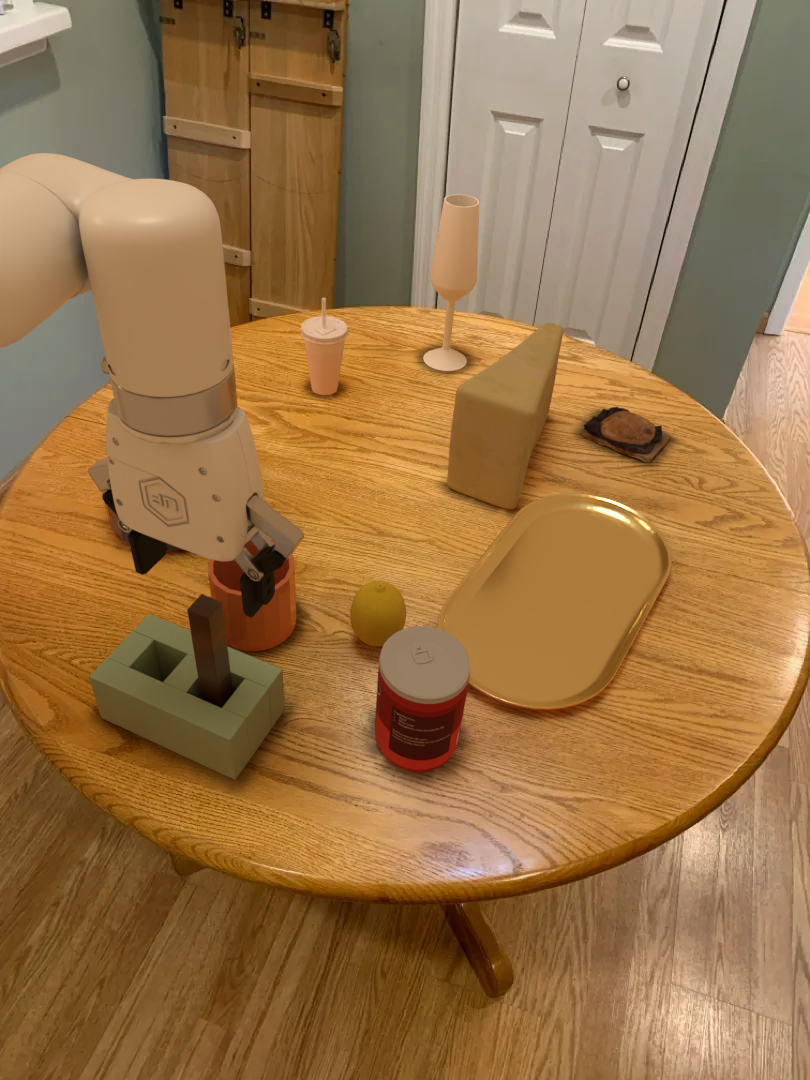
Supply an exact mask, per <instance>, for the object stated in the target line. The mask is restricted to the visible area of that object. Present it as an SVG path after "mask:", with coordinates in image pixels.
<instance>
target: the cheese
mask: <svg viewBox="0 0 810 1080" xmlns="http://www.w3.org/2000/svg"><path fill="white" fill-rule="evenodd" d="M563 336H564V327H563V326H562V325H560V324H557V323H553V322H545V324H542V325H541V326H539V327H538V328H536V329H535V330H534V331H533V332H531V334H530V335H528V336H527V337H526V338H525V339H524V340H523V341H521V342H520V343H519V344H518V345H516V346H515V347H514V348H513V349H511V350H510V351H509V352H508V353H506V354H504V356H502V357H501V358H499V359H498V360H497V361H495V362H494V363H492V364H491V365H489V366H487V367H486V368H484V369H482V370H481V371H479V372H478V373H476V374H475V375H473V376H472V377H470V378H469V379H467V380H466V381H464V382H463V383H461V384H460V385H459V386H458V387H457V389H456V391H455V397H454V403H453V404H454V405H453V412H452V418H451V419H452V420H451V427H450V438H449V449H448V450H449V451H448V465H447V478H446V484H447V486H448V487H449V488H450V489H451V490H454V491H456V492H458V493H461V494H463V495H466V496H468V497H470V498H474V499H476V500H479V501H482V502H485V503H488V504H490V505H492V506H496V507H499V508H502V509H506V510H515V509H516V508H517V507H518V504H519V501H520V498H521V494H522V491H523V487H524V483H525V478H526V475H527V470H528V466H529V463H530V459H531V455H532V452H533V450H534V448H535V447H536V445H537V443H538V441H539V440H540V439H539V438H540V436H541V435H542V431H543V429H544V427H545V424H546V421H547V418H548V415H549V411H550V408H551V403H552V398H553V393H554V388H555V382H556V376H557V369H558V362H559V357H560V351H561V345H562V341H563Z"/></svg>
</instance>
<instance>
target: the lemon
mask: <svg viewBox="0 0 810 1080" xmlns="http://www.w3.org/2000/svg"><path fill="white" fill-rule="evenodd" d="M349 617H350V618H349V620H350V625H351V628H352V630H353V633H354V634H355V635H356V637H357V638H358V640H360V641H361V642H363V643H365V644H366V645H368V646H372V647H383V645H384V644H385V642H386V641H387V640H388V638H390V637H391V636H392V635H393V634H394V633H396V632H398V631H400V630H402V629H405V625H406V620H407V607H406V603H405V599H404V596H403V594H402V593H401V591H400V590H399V589H398V588H397V587H396V586H395V585H394V584H392V583H390V582H387V581H385V580H374V581H370V582H367V583H366V584H364V585H363V586H361V587H360V588H359V589H358V590H357V592H356V593H355V595H354V597H353V599H352V602H351V605H350V611H349Z"/></svg>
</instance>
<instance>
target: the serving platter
mask: <svg viewBox="0 0 810 1080" xmlns="http://www.w3.org/2000/svg"><path fill="white" fill-rule="evenodd" d="M671 552H672V551H671V550H670V546H669V544H668V541H667V539H666V538H665V537H664V535H663V534H662V532H661V531H660V530H659V528H658V527H656V525H654V523H652V521H650V519H648V518H647V517H645V516H644V515H643V514H641V513H640V512H638V511H636V510H634V509H633V508H631V507H629V506H627V505H626V504H623V503H620V502H618V501H615V500H612V499H609V498H606V497H602V496H599V495H598V496H597V495H592V494H585V493H557V494H552V495H547V496H542V497H540V498H538V499H535V500H533V501H531V502H528V503H527V504H525V505H524V506H523V507H522V508H520V509H519V511H517V512H516V513H515V515H514V516H513V517H512V518H511V520H510V521H509V522H508V524H507V525H505V527H504V528H503V529H502V531H501V532H500V533H499V534H498V535H497V537H496V538H495V539H494V540H493V542H492V543H491V544H490V545H489V547H488V548H487V549H486V550H485V551H484V553H483V554H482V555H481V557H479V559H478V560H477V561H476V562H475V564H474V565H473V566H472V567H471V568H470V569H469V571H468V572H467V574H466V575H465V576H464V577H463V579H462V580H461V581H460V582H459V583H458V584H457V586H456V587H455V588H454V589H453V591H451V593H449V596H448V597H447V598H446V599H445V602H444V603H443V605H442V607H441V610H440V612H439V616H438V619H437V620H438V621H437V629H440V630H443V631H445V632H447V633H449V634H450V635H452V636H453V637H455V638H456V639H457V640H458V641H459V642H460V643H461V644H462V645H463V647H464V648H465V650H466V651H467V654H468V656H469V660H470V678H469V685H468V686H471V687H472V688H473V689H475V690H476V691H477V692H479V693H481V694H483V695H484V696H486V697H488V698H490V699H492V700H495V701H497V702H499V703H503V704H504V705H509V706H511V707H516V708H520V709H527V710H537V711H538V710H539V711H552V710H553V711H554V710H562V709H565V708H571V707H574V706H577V705H580V704H583V703H585V702H587V701H589V700H591V699H593V698H595V697H596V696H597V695H599V694H600V693H602V692H603V691H604V690H605V689H607V687H608V686H609V685H610V684H611V683H612V681H613V680H614V679H615V677H616V676H617V673H618V671H619V669H620V667H621V666H622V664H623V662H624V661H625V659H626V656H627V655H628V653H629V651H630V650H631V648H632V646H633V644H634V642H635V640H636V638H637V637H638V635H639V633H640V630H641V629H642V627H643V625H644V623H645V622H646V620H647V618H648V616H649V614H650V612H651V610H652V609H653V607H654V605H655V603H656V601H657V599H658V597H659V595H660V593H661V592H662V590H663V588H664V586H665V584H666V582H667V581H668V579H669V577H670V574H671V571H672V566H673V558H672V553H671Z"/></svg>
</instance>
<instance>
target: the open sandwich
mask: <svg viewBox="0 0 810 1080" xmlns="http://www.w3.org/2000/svg"><path fill="white" fill-rule="evenodd" d="M579 435H580V436H582V437H583V438H587V440H589V441H593V442H596V443H598V445H600V446H607V447H608V448H610V449H611V450H614V451H615V452H618V453H621V454H624V455H627V456H628V457H632V458H636V459H637V460H640V461H643V462H644V463H647V464H648V463H651V462H652V461H653V459H654V458H655V457H656V456H657V455H658V454H659V453H660V451H661V450H662V449H663V448H664V447H665V446H666V445H667V444H668V442H669V441H670V440H671V435H670V434H669V433H667V432H664V431H663V427H662V425H655V423H653V422H652V421H650V420H649V419H648V418H646V417H644V416H642V415H640V414H637V413H634V412H632V411H630V410H628V409H627V408H625V407H619V406H613V407H610V408H608V409H605V408H603V409H602V410H601V411H600V412H598V414H597V415H596V416H592V417H591V419H589V421H587V422H585V424H584V425H583V428H582V429H581V430H580V434H579Z"/></svg>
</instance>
